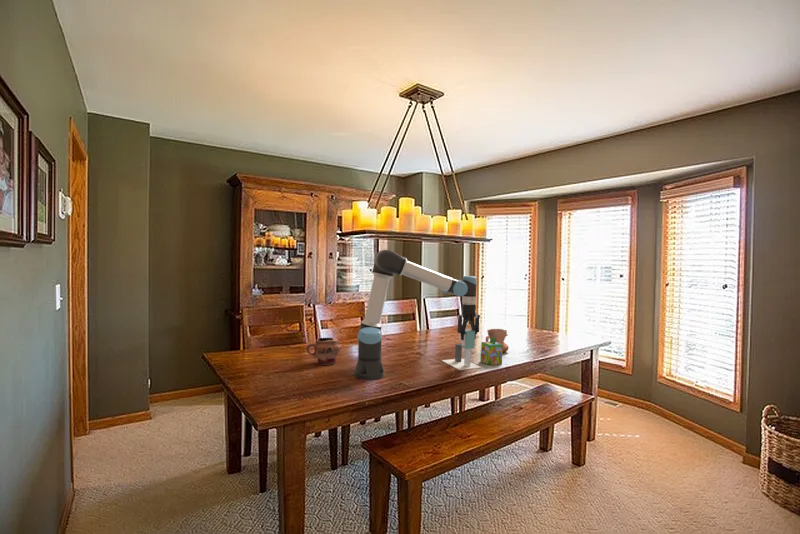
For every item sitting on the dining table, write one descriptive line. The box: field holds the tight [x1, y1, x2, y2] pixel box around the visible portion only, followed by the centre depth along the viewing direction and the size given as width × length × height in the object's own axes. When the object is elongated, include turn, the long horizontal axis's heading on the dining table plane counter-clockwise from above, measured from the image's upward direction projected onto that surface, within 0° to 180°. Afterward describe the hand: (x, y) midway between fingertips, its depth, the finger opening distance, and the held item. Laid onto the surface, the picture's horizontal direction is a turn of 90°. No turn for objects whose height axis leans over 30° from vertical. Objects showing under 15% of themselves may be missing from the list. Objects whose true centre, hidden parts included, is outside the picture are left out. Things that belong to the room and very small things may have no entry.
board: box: [441, 357, 482, 371], centre depth 234 cm, size 14×20×1 cm
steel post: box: [463, 348, 472, 367], centre depth 229 cm, size 3×3×10 cm
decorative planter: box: [305, 337, 343, 366], centre depth 229 cm, size 20×12×14 cm, turn 119°
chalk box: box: [480, 337, 503, 366], centre depth 239 cm, size 9×9×15 cm
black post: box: [454, 343, 463, 362], centre depth 239 cm, size 3×3×10 cm
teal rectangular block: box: [462, 328, 476, 350], centre depth 229 cm, size 5×5×10 cm
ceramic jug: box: [485, 328, 509, 354], centre depth 267 cm, size 18×14×14 cm
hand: (468, 345), depth 229 cm, fingers closed on teal rectangular block, 5 cm apart
